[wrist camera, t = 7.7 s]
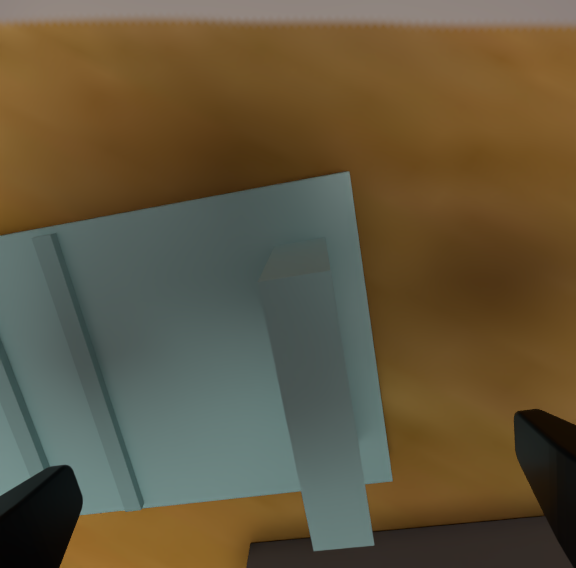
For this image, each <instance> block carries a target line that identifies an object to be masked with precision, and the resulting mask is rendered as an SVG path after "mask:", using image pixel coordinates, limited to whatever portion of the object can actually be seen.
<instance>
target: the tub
mask: <svg viewBox="0 0 576 568" xmlns="http://www.w3.org/2000/svg"><path fill="white" fill-rule="evenodd" d="M372 533H373V539H374V546H364V547H353V548H342V549H331V550H321V551H314V550H313V546H312V541H311V538H305V539H295V540H284V541H273V542H262V543H252V544H250V550H249V556H248V562H247V568H573V566H572V564H571V563H570V561H569V559H568V558H567V556H566V555H565V553H564V551H563V549H562V548H561V546H560V544H559V543H558V541H557V539H556V537H555V535H554V533H553V531H552V529H551V527H550V525H549V523H548V521H547V519H546V517H545V516H542V517H531V518H520V519H510V520H499V521H488V522H477V523H467V524H456V525H445V526H434V527H424V528H413V529H402V530H391V531H381V532H372Z"/></svg>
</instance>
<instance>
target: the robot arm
mask: <svg viewBox="0 0 576 568" xmlns="http://www.w3.org/2000/svg"><path fill="white" fill-rule="evenodd" d="M514 434H515V451H516V455H517V459H518V461H519V464H520V466H521V468H522V470H523V472H524V474H525V476H526V478H527V480H528V482H529V484H530V486H531V488H532V490H533V492H534V494H535V496H536V498H537V501H538V503H539V505H540V507H541V509H542V511H543V513H544V515H545V517H546V519H547V521H548V523H549V525H550V527H551V529H552V531H553V533H554V535H555V537H556V539H557V541H558V543H559V544H560V546H561V548H562V549H563V551H564V553H565V555H566V556H567V558H568V559H569V561H570V563H571V564H572V566H573V568H576V425H574V424H572V423H570V422H567V421H565V420H563V419H561V418H558V417H556V416H554V415H551V414H549V413H547V412H545V411H542V410H540V409H531V410H523V411H517V412H516V413H515V416H514ZM82 506H83V496H82V493H81V490H80V487H79V485H78V482H77V479H76V476H75V474H74V471H73V469H72V468H71V467H70V466H69V465H58V466H50V467H48V468H46V469H44V470H42V471H41V472H39V473H37V474H36V475H34V476H32V477H31V478H29V479H27V480H26V481H24V482H22V483H21V484H19V485H17V486H16V487H14V488H12V489H11V490H9V491H7V492H6V493H4V494H2V495H1V496H0V568H59V567H60V564H61V562H62V559H63V557H64V554H65V551H66V549H67V546H68V544H69V541H70V538H71V536H72V533H73V531H74V528H75V526H76V523H77V520H78V518H79V515H80V513H81V510H82Z"/></svg>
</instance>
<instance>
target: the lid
mask: <svg viewBox="0 0 576 568" xmlns="http://www.w3.org/2000/svg"><path fill="white" fill-rule="evenodd" d="M58 465H69V466H70V467H71V468H72V469H73V471H74V474H75V476H76V479H77V482H78V485H79V487H80V490H81V493H82V496H83V506H82V510H81V513H80V515H86V514H95V513H104V512H113V511H123V510H125V512H127V511H136V510H141V509H142V508H150V507H159V506H169V505H178V504H187V503H196V502H206V501H215V500H224V499H233V498H242V497H252V496H261V495H270V494H279V493H289V492H298V491H301V493H302V498H303V502H304V507H305V512H306V517H307V522H308V526H309V531H310V536H311V541H312V546H313V550H314V551H321V550H331V549H342V548H353V547H364V546H374V539H373V533H372V526H371V520H370V514H369V508H368V501H367V495H366V489H365V484H372V483H381V482H390V481H393V480H392V473H391V466H390V458H389V451H388V444H387V437H386V430H385V423H384V416H383V408H382V401H381V394H380V387H379V380H378V373H377V365H376V358H375V351H374V344H373V337H372V330H371V323H370V315H369V308H368V301H367V294H366V287H365V280H364V272H363V265H362V258H361V251H360V244H359V237H358V230H357V222H356V215H355V208H354V201H353V194H352V187H351V179H350V172H349V171H345V172H339V173H334V174H329V175H323V176H318V177H312V178H307V179H302V180H296V181H291V182H285V183H280V184H275V185H269V186H264V187H259V188H253V189H248V190H242V191H237V192H232V193H226V194H221V195H215V196H210V197H205V198H199V199H194V200H189V201H183V202H178V203H172V204H167V205H162V206H156V207H151V208H145V209H140V210H135V211H129V212H124V213H118V214H113V215H108V216H102V217H97V218H92V219H86V220H81V221H75V222H70V223H65V224H59V225H54V226H48V227H43V228H38V229H32V230H27V231H22V232H16V233H11V234H5V235H0V496H1V495H2V494H4V493H6V492H7V491H9V490H11V489H12V488H14V487H16V486H17V485H19V484H21V483H22V482H24V481H26V480H27V479H29V478H31V477H32V476H34V475H36V474H37V473H39V472H41V471H42V470H44V469H46V468H48V467H50V466H58Z"/></svg>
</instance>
